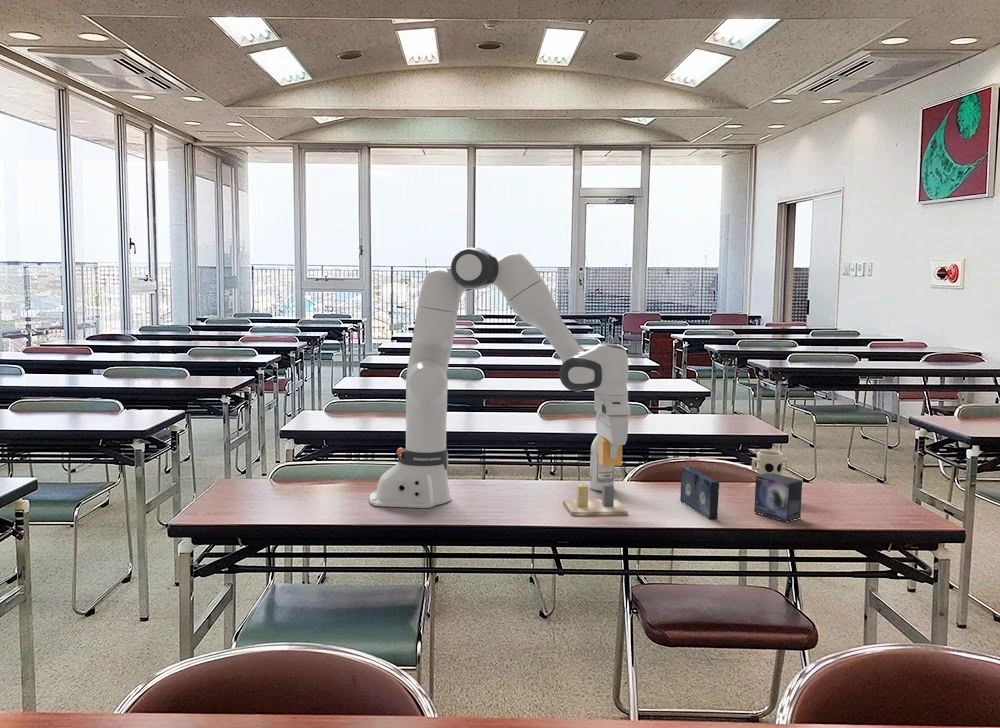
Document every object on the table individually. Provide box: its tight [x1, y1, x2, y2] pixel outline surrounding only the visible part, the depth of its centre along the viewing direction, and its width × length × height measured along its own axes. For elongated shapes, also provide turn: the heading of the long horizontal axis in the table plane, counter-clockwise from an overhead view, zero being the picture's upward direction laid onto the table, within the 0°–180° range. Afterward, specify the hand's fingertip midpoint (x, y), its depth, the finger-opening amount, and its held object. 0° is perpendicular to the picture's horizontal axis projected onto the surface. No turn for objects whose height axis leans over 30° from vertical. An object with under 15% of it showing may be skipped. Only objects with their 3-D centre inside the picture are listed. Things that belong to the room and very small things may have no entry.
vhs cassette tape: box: [679, 466, 720, 520], centre depth 229 cm, size 18×3×10 cm, turn 11°
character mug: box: [751, 449, 789, 475], centre depth 243 cm, size 11×7×13 cm, turn 99°
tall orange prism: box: [598, 438, 623, 467], centre depth 227 cm, size 5×5×7 cm
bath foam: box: [589, 432, 615, 492], centre depth 250 cm, size 7×7×20 cm
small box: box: [753, 473, 803, 522], centre depth 224 cm, size 11×6×10 cm, turn 36°
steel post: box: [601, 484, 615, 507], centre depth 228 cm, size 3×3×6 cm
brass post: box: [575, 483, 589, 507], centre depth 227 cm, size 3×3×6 cm
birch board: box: [562, 498, 629, 517], centre depth 228 cm, size 15×12×1 cm
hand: (610, 455), depth 227 cm, fingers closed on tall orange prism, 5 cm apart
